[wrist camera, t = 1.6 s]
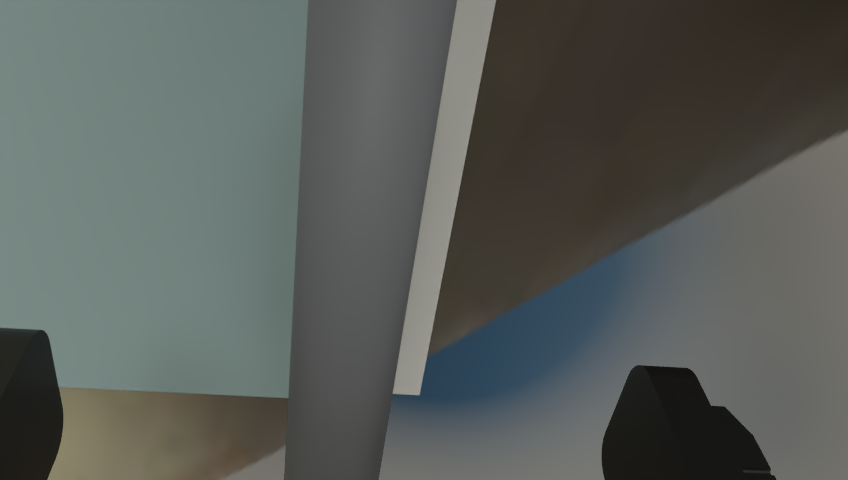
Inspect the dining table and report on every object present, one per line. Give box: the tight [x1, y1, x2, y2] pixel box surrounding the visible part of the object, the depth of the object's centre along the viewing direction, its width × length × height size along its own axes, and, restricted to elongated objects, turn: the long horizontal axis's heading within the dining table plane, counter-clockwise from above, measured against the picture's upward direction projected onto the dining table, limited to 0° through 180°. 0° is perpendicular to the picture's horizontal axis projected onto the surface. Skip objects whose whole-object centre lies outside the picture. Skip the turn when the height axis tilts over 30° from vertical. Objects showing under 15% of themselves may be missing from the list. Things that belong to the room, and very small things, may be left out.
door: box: [0, 0, 457, 480], centre depth 13 cm, size 15×14×6 cm
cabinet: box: [393, 0, 496, 395], centre depth 19 cm, size 16×16×8 cm
